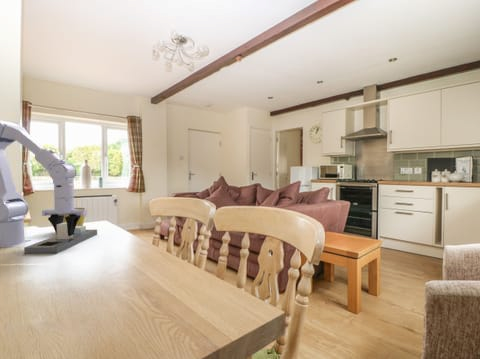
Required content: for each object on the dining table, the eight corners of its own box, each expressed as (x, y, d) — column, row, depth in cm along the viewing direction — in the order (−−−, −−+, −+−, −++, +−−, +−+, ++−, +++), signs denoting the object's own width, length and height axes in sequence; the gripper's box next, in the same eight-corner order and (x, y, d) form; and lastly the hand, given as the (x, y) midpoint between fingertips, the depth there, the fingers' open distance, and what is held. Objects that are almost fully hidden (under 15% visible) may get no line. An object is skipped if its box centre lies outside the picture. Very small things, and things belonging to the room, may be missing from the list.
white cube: (71, 238, 100) (71, 228, 99) (76, 236, 103) (76, 226, 103) (80, 238, 100) (80, 227, 99) (85, 235, 103) (85, 225, 103)
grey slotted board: (24, 255, 81) (24, 247, 81) (72, 235, 105) (71, 229, 105) (56, 255, 82) (56, 247, 81) (97, 235, 105) (97, 229, 105)
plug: (56, 244, 91) (55, 225, 91) (63, 241, 95) (63, 222, 95) (66, 244, 91) (65, 224, 91) (73, 241, 95) (72, 222, 95)
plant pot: (65, 236, 105) (65, 212, 105) (53, 232, 110) (52, 210, 110) (91, 230, 114) (91, 208, 114) (79, 228, 119) (78, 206, 119)
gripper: (34, 199, 89) (36, 238, 89) (78, 198, 89) (79, 238, 89) (49, 196, 96) (50, 233, 96) (89, 196, 96) (90, 233, 96)
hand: (65, 235), depth 93 cm, fingers closed on plug, 3 cm apart
